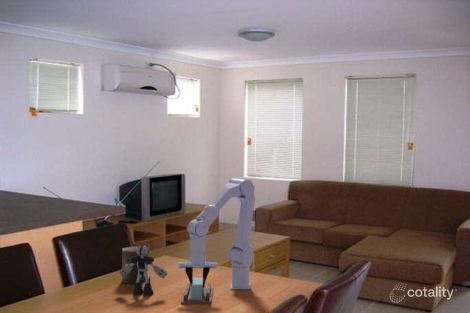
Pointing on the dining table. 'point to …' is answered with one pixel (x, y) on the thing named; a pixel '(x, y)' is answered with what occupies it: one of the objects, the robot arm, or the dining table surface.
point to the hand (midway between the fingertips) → (197, 286)
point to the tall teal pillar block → (197, 289)
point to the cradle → (205, 300)
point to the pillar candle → (126, 259)
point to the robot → (143, 270)
